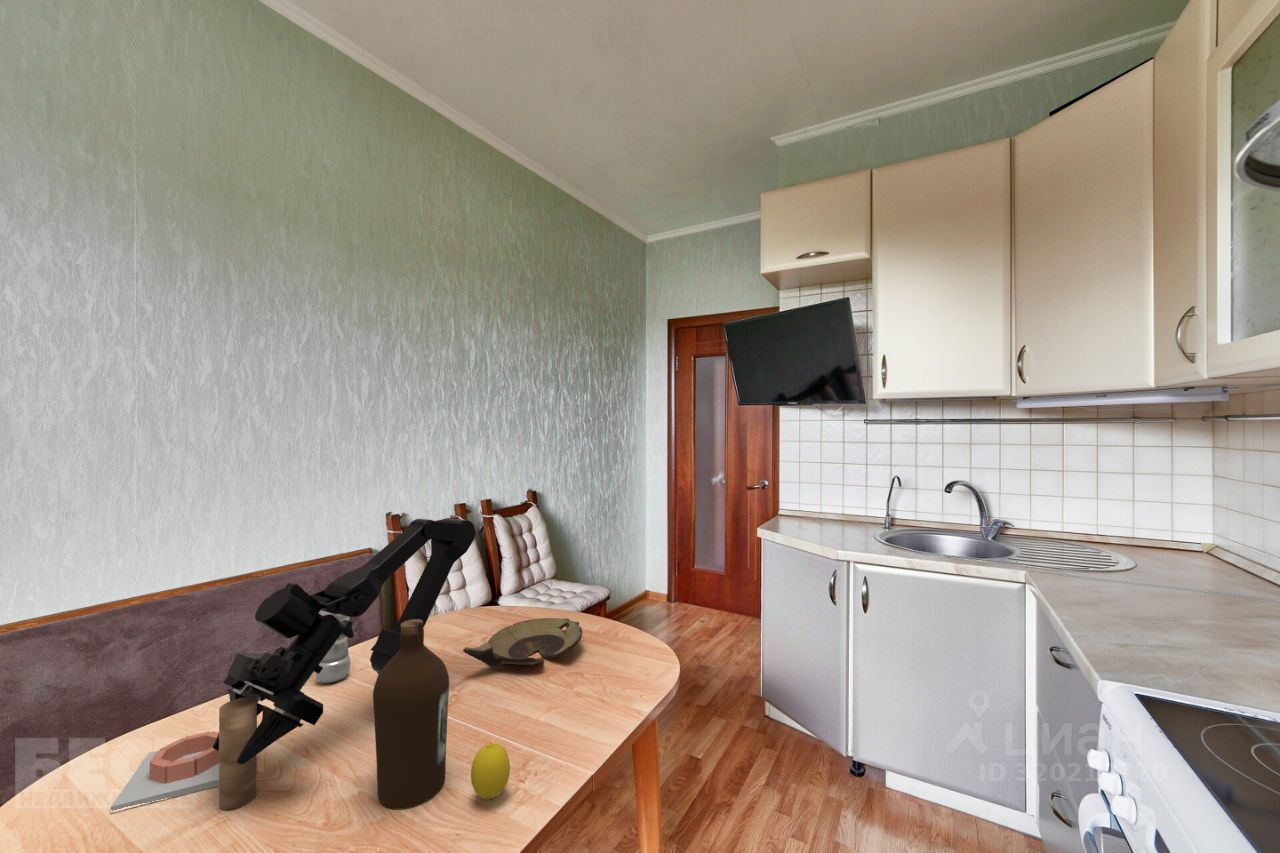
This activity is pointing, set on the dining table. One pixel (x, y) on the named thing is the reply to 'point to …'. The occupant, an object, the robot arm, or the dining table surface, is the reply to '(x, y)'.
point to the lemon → (490, 770)
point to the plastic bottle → (335, 658)
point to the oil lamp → (528, 642)
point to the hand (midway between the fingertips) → (227, 756)
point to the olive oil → (411, 722)
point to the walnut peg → (236, 753)
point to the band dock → (173, 771)
